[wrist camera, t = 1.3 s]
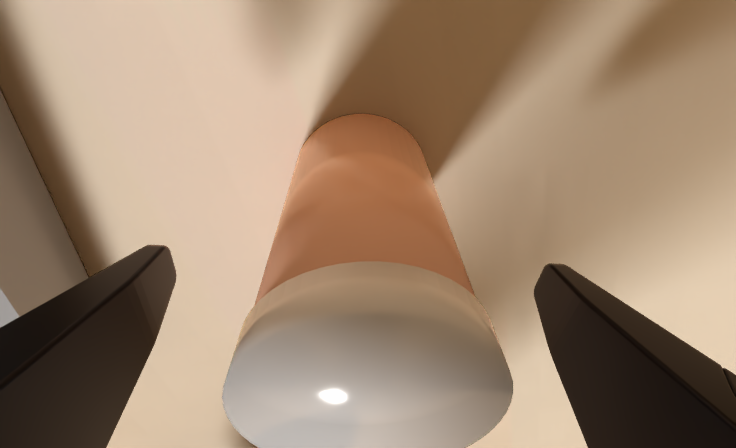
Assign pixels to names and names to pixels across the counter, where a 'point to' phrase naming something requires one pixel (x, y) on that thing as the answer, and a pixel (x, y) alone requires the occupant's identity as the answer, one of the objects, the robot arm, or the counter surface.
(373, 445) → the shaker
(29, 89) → the counter surface
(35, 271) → the tray
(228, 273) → the counter surface
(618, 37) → the counter surface
